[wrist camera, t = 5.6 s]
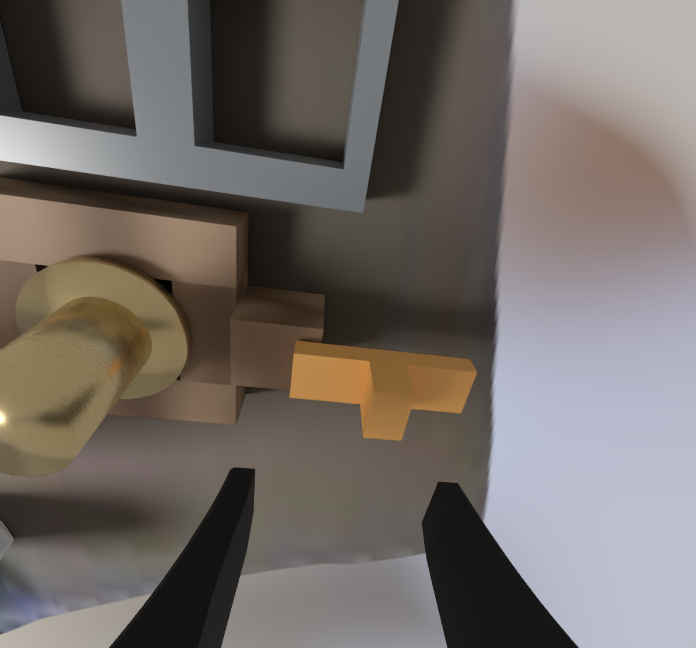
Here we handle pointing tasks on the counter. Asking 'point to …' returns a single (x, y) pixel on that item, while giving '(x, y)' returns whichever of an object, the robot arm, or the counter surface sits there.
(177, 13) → the rack
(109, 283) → the brass peg
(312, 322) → the socket block
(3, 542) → the syrup box
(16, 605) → the counter surface
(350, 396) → the latch bar
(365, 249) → the counter surface
